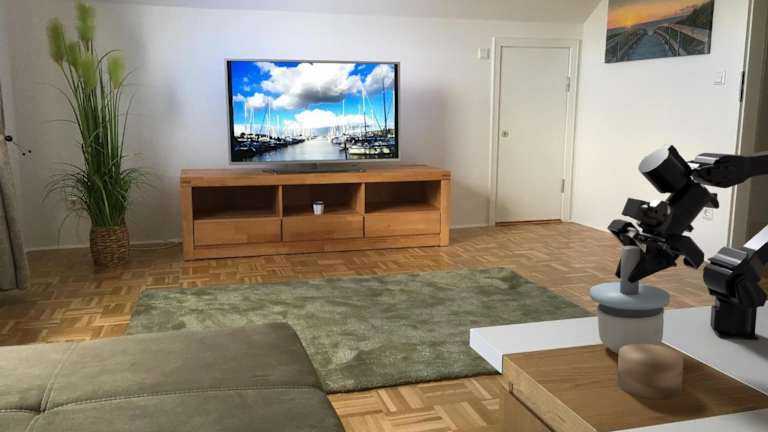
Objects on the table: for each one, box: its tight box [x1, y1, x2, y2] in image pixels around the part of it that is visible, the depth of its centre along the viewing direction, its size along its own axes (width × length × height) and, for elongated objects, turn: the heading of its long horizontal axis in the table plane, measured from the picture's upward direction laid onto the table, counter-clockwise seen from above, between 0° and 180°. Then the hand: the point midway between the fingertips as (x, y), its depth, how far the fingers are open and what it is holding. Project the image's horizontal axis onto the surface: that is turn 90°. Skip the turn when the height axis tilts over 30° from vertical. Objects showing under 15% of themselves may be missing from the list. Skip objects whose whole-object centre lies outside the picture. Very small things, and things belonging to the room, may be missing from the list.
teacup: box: [596, 303, 665, 355], centre depth 112 cm, size 14×11×8 cm
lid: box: [589, 245, 671, 310], centre depth 110 cm, size 13×13×9 cm
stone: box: [617, 344, 684, 400], centre depth 97 cm, size 9×9×5 cm
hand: (623, 279), depth 110 cm, fingers closed on lid, 3 cm apart
